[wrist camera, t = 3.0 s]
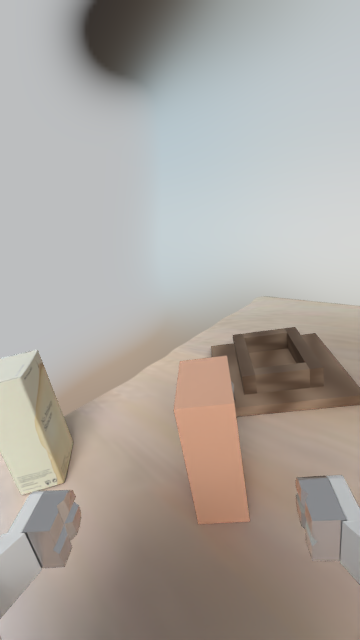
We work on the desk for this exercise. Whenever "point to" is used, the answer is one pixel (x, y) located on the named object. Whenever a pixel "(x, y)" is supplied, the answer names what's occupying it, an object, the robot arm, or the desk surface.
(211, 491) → the keyed block
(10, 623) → the desk surface
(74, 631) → the desk surface
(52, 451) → the skincare box
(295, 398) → the keyed holder
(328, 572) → the desk surface
